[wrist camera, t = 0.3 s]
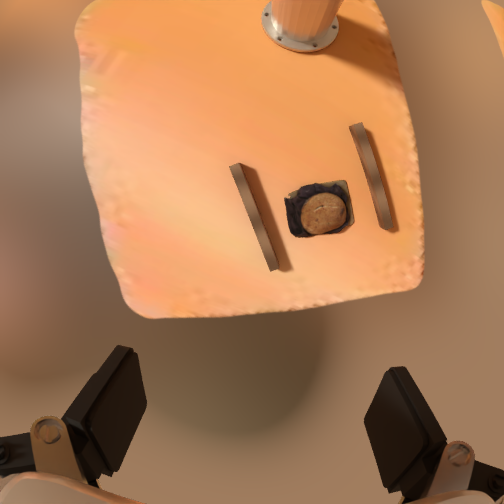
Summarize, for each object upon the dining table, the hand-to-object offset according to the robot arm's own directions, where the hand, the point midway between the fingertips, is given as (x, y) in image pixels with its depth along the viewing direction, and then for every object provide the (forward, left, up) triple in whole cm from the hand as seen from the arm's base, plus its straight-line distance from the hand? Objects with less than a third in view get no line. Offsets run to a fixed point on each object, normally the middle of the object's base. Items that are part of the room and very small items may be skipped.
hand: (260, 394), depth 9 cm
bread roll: (+2, +9, -37) cm, 38 cm away
